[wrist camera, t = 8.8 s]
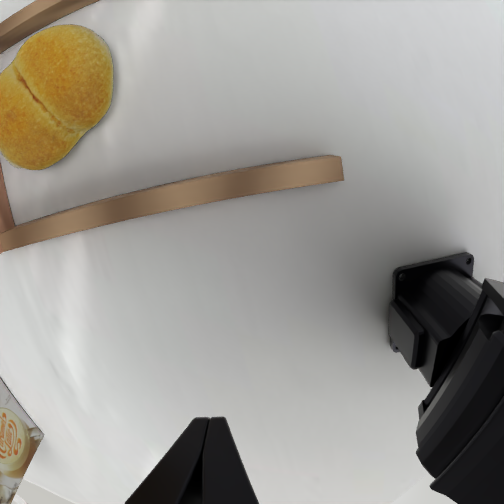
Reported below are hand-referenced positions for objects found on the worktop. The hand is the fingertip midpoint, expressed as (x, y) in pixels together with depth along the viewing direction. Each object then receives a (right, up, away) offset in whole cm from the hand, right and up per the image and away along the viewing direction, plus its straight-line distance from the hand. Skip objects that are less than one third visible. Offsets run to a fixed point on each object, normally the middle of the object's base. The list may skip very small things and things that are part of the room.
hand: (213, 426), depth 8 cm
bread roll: (-11, +14, +8) cm, 20 cm away
